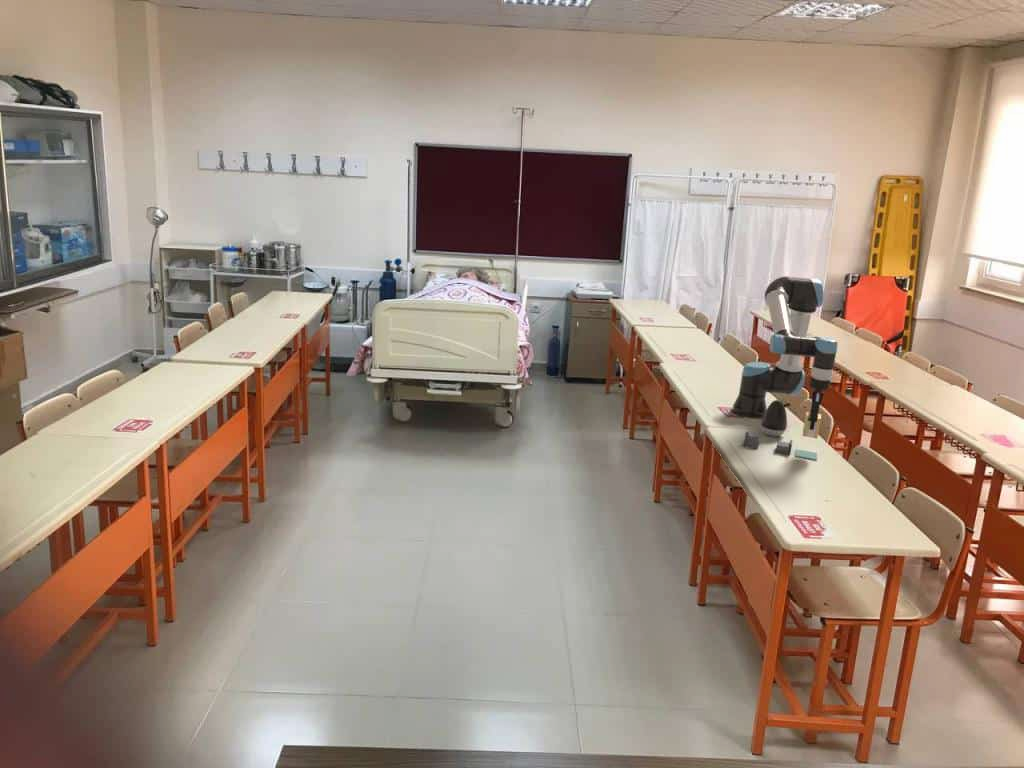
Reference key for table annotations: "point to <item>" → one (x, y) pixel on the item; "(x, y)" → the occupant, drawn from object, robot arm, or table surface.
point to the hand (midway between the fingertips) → (810, 433)
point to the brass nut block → (808, 415)
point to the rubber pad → (806, 454)
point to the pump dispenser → (775, 419)
